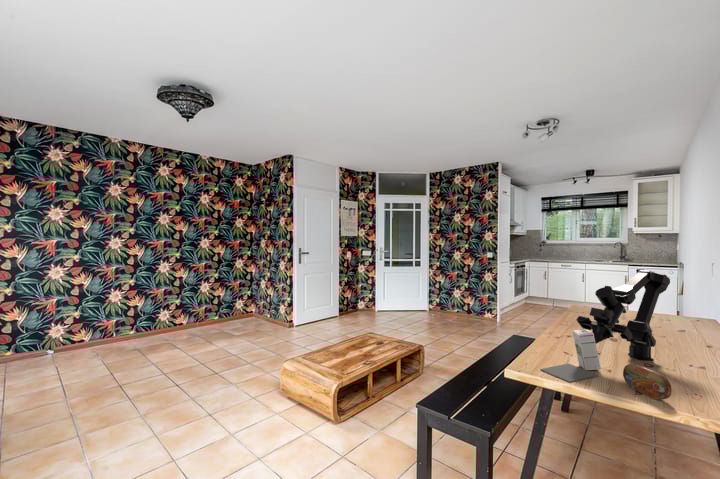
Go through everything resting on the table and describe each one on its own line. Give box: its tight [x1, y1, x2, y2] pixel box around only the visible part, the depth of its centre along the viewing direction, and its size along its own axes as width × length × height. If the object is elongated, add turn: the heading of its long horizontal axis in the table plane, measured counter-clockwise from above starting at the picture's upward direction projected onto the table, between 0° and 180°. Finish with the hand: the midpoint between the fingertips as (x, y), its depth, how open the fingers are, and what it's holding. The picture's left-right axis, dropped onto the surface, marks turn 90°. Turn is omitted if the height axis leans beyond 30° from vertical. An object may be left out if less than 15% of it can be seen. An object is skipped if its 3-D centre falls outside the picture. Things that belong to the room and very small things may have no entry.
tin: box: [622, 363, 672, 401], centre depth 110 cm, size 15×3×8 cm, turn 5°
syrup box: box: [572, 328, 602, 371], centre depth 131 cm, size 6×6×14 cm
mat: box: [539, 363, 600, 383], centre depth 126 cm, size 16×12×1 cm
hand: (593, 343), depth 131 cm, fingers closed
